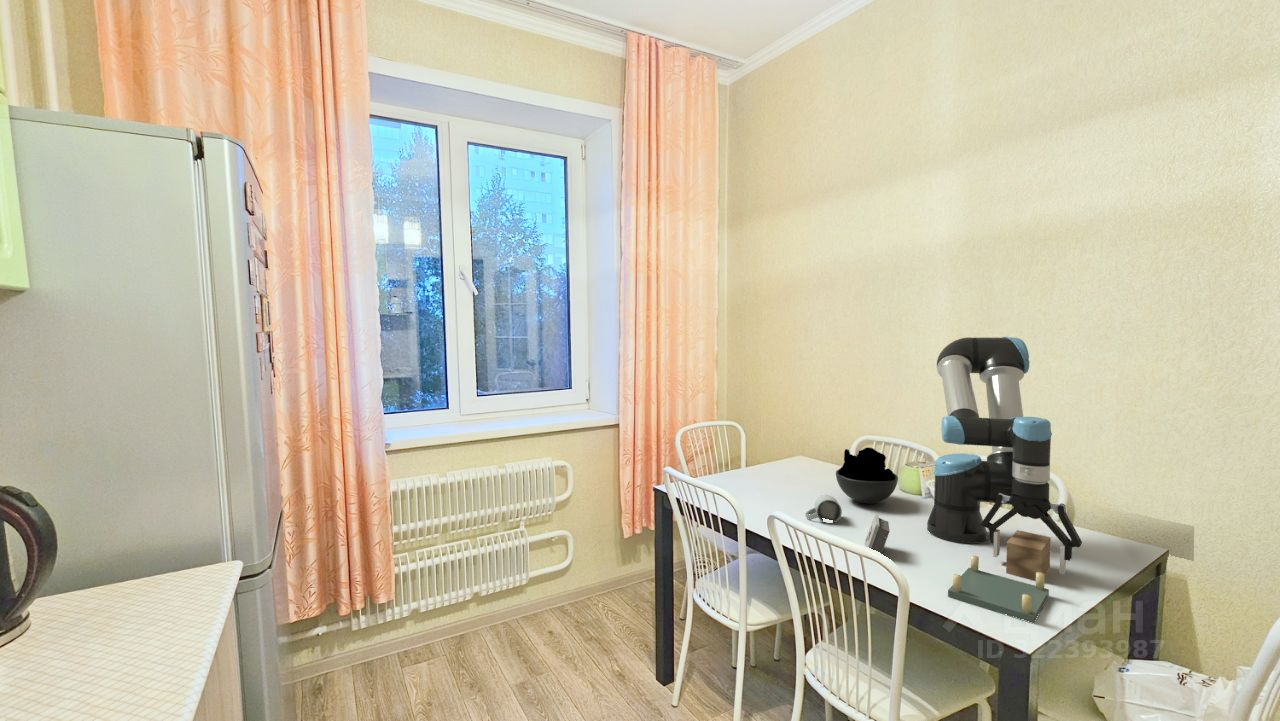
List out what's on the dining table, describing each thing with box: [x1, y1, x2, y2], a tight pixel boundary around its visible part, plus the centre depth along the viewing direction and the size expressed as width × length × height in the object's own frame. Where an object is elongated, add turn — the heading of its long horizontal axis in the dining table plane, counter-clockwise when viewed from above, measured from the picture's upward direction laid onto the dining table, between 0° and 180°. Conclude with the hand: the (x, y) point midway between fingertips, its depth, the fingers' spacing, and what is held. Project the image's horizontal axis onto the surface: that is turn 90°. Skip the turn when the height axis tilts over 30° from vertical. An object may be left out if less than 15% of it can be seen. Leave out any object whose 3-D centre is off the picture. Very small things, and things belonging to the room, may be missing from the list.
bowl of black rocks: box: [835, 447, 899, 505], centre depth 186 cm, size 20×20×19 cm
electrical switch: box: [864, 513, 891, 554], centre depth 146 cm, size 9×5×9 cm, turn 158°
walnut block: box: [1005, 529, 1052, 582], centre depth 133 cm, size 7×11×8 cm, turn 134°
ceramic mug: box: [804, 494, 843, 523], centre depth 171 cm, size 11×8×8 cm
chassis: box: [947, 554, 1050, 624], centre depth 121 cm, size 16×16×5 cm
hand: (1028, 563), depth 134 cm, fingers open, 13 cm apart
